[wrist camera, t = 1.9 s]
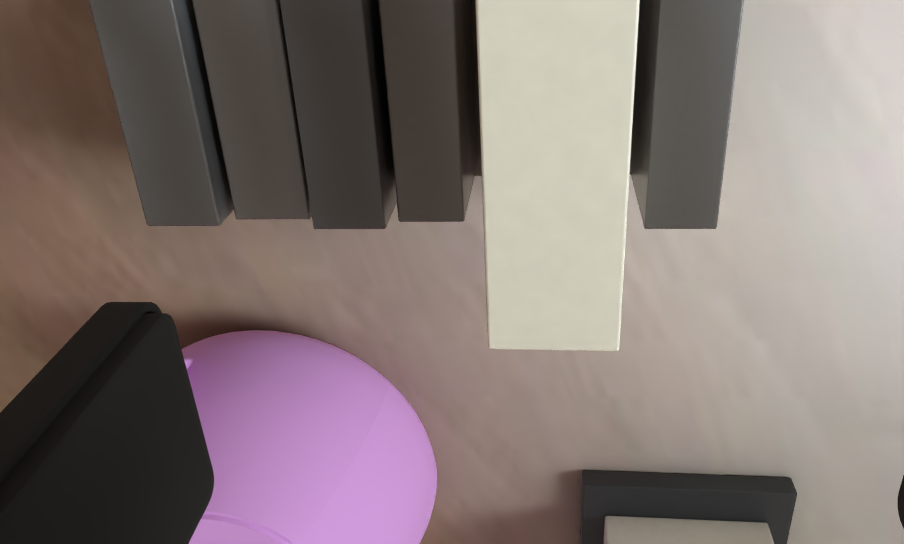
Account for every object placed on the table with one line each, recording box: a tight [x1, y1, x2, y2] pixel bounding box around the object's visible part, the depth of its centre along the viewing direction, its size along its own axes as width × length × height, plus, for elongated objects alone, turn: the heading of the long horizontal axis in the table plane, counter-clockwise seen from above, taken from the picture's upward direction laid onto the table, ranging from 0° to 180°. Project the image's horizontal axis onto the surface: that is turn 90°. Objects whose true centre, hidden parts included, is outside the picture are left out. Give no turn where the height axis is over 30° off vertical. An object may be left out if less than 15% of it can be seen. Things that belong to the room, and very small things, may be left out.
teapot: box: [182, 330, 437, 544], centre depth 32 cm, size 14×20×11 cm
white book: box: [475, 0, 640, 351], centre depth 21 cm, size 3×8×11 cm, turn 3°
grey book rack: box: [89, 0, 744, 229], centre depth 24 cm, size 18×8×6 cm, turn 93°
